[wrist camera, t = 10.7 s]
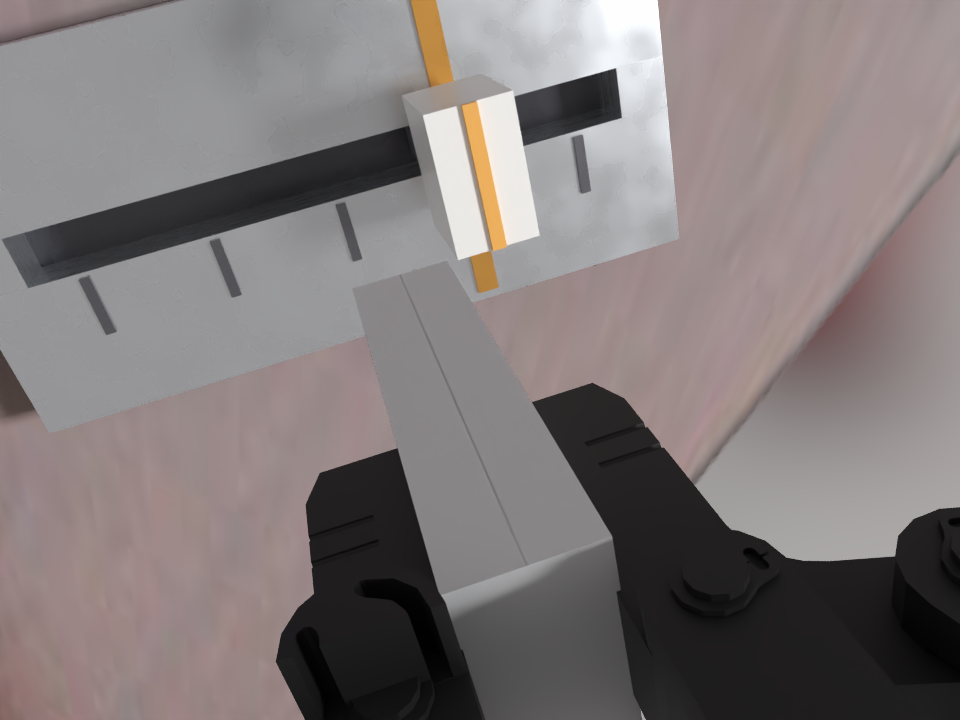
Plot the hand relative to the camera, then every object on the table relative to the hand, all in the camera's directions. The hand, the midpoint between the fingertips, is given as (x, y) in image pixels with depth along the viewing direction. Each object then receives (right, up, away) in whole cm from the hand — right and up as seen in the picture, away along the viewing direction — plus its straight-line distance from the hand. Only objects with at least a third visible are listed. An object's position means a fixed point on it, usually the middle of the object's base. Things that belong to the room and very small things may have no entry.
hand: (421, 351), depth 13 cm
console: (-5, +8, +20) cm, 23 cm away
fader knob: (-1, +10, +21) cm, 23 cm away
